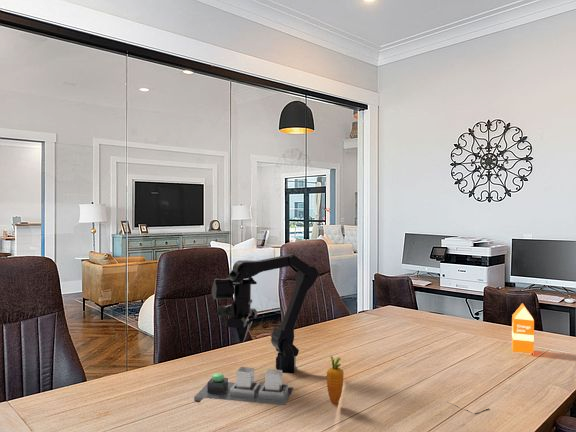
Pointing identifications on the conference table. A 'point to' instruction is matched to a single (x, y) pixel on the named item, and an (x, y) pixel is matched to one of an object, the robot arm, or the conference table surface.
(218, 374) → the button
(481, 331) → the conference table surface
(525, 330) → the orange juice
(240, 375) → the aluminium block
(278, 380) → the block
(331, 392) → the carrot
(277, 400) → the dark grey fixture board
